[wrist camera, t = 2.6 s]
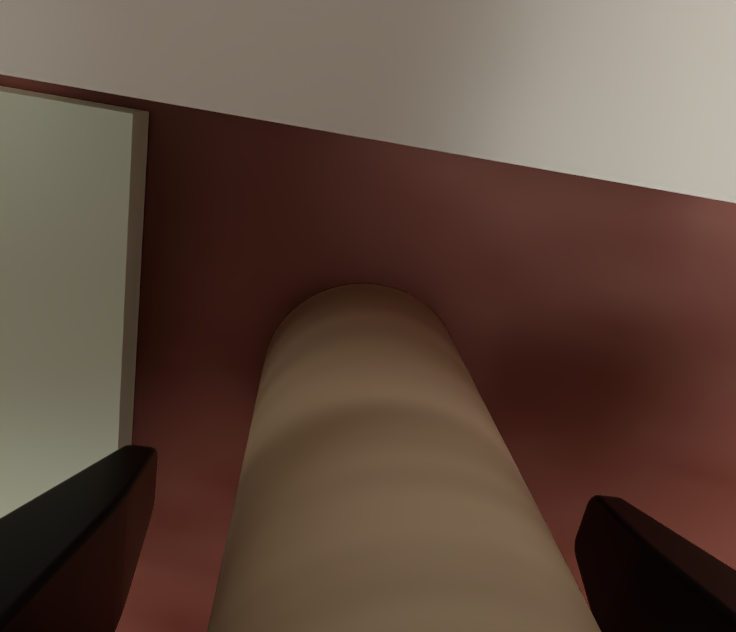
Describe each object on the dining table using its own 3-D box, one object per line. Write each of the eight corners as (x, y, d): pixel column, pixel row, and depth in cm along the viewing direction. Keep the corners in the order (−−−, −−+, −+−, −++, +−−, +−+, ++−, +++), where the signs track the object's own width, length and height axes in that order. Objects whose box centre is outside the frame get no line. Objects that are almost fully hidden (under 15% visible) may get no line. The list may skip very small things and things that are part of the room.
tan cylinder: (434, 468, 14) (675, 1282, 4) (253, 448, 13) (87, 1314, 4) (476, 298, 12) (944, 944, 3) (275, 269, 12) (108, 931, 3)
